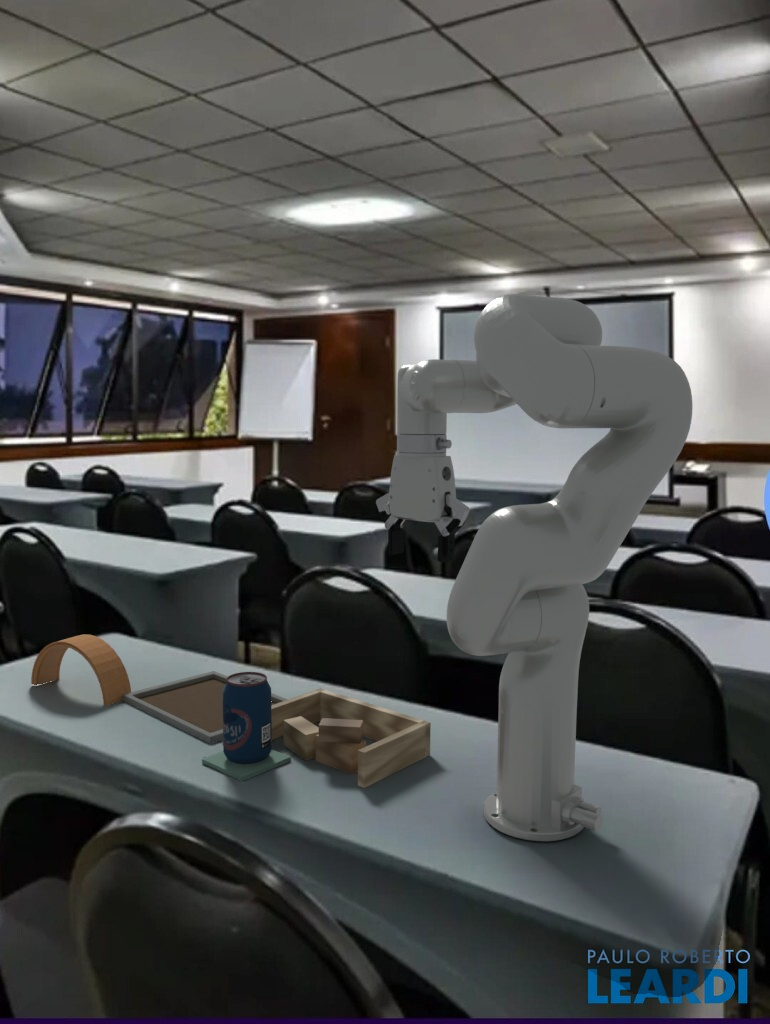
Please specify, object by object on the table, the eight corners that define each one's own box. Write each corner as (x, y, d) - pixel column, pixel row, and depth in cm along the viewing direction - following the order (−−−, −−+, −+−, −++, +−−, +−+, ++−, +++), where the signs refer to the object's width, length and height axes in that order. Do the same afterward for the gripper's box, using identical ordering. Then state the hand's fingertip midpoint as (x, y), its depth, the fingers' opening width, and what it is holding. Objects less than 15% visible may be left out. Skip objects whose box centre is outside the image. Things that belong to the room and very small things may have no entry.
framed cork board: (213, 670, 159) (316, 710, 138) (214, 678, 159) (316, 719, 138) (121, 694, 145) (220, 742, 124) (121, 703, 145) (220, 752, 124)
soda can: (213, 761, 118) (211, 680, 117) (244, 744, 124) (243, 667, 123) (251, 772, 115) (250, 688, 113) (281, 754, 121) (280, 675, 119)
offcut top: (363, 736, 120) (363, 720, 119) (360, 743, 117) (360, 727, 117) (322, 733, 120) (322, 718, 120) (318, 741, 118) (318, 725, 117)
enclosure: (430, 754, 123) (430, 722, 122) (364, 788, 112) (364, 752, 111) (320, 717, 137) (320, 688, 137) (252, 743, 126) (252, 712, 126)
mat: (290, 760, 120) (290, 756, 120) (242, 781, 113) (242, 777, 113) (250, 744, 126) (250, 740, 126) (202, 763, 119) (202, 759, 119)
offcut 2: (365, 768, 118) (365, 741, 118) (351, 775, 116) (351, 747, 115) (329, 755, 123) (329, 729, 122) (315, 761, 120) (315, 735, 120)
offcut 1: (323, 756, 122) (323, 730, 122) (305, 761, 120) (305, 734, 120) (301, 741, 128) (300, 716, 127) (283, 745, 126) (283, 720, 126)
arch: (105, 707, 142) (103, 650, 141) (31, 687, 152) (28, 634, 151) (131, 697, 147) (129, 642, 146) (57, 678, 157) (55, 627, 156)
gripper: (482, 447, 123) (480, 560, 125) (393, 444, 134) (393, 548, 136) (453, 448, 117) (451, 567, 119) (362, 445, 128) (362, 554, 130)
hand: (420, 557), depth 127 cm, fingers open, 9 cm apart
